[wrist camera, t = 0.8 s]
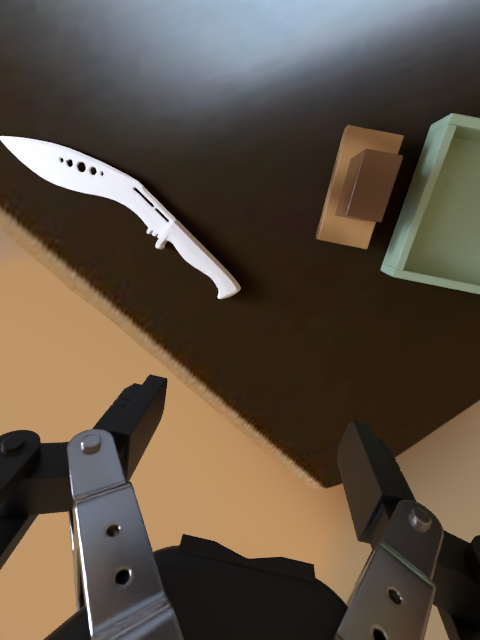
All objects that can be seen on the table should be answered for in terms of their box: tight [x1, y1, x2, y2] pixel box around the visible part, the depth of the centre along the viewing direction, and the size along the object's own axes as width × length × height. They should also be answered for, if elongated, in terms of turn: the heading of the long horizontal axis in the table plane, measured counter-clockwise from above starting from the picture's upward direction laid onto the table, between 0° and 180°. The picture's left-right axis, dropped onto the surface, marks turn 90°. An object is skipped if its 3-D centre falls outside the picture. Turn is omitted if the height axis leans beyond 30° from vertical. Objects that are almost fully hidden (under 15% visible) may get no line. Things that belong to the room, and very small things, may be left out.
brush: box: [316, 125, 404, 249], centre depth 28 cm, size 10×5×8 cm, turn 169°
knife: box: [0, 136, 241, 299], centre depth 33 cm, size 30×2×8 cm
